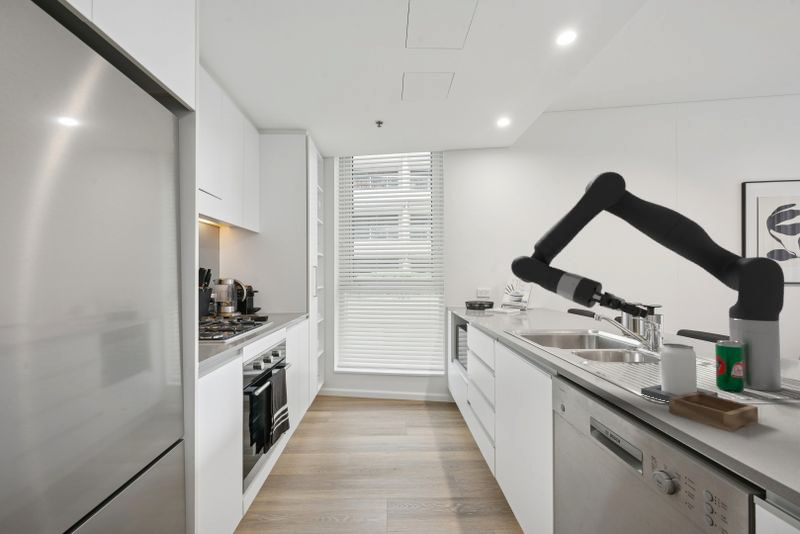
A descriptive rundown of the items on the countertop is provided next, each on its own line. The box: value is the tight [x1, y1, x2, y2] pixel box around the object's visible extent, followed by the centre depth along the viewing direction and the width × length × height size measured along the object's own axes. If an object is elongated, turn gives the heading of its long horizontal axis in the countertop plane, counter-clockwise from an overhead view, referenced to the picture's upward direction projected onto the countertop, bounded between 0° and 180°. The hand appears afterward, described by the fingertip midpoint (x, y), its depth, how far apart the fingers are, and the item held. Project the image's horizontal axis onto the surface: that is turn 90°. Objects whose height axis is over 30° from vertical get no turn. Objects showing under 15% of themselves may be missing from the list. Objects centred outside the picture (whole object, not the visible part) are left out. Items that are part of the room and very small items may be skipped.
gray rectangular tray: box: [640, 384, 719, 401], centre depth 82 cm, size 13×9×2 cm
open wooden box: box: [668, 392, 759, 432], centre depth 70 cm, size 10×10×3 cm
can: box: [660, 342, 698, 395], centre depth 82 cm, size 6×6×12 cm
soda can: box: [714, 339, 745, 393], centre depth 89 cm, size 5×5×12 cm
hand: (643, 314), depth 88 cm, fingers open, 8 cm apart
